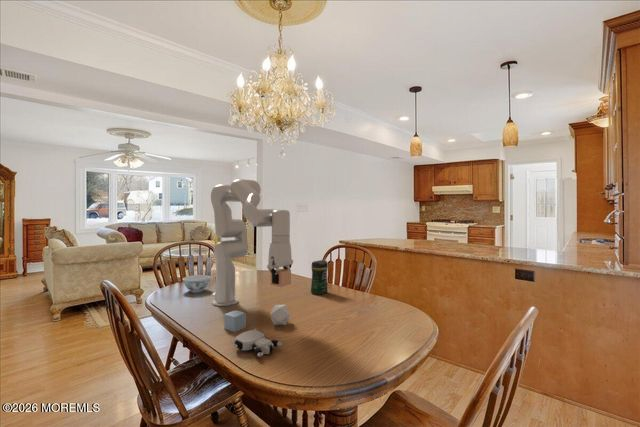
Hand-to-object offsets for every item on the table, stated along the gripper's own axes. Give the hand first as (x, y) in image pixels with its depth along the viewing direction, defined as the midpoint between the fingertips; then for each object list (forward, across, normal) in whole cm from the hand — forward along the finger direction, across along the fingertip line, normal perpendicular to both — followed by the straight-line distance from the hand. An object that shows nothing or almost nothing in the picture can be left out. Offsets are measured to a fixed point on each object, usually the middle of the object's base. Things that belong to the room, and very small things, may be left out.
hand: (280, 281), depth 133 cm
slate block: (+18, +14, -12) cm, 26 cm away
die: (+18, 0, 0) cm, 18 cm away
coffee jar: (+18, -49, -13) cm, 54 cm away
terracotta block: (+1, 0, 0) cm, 1 cm away
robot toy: (+18, +23, +9) cm, 31 cm away
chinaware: (+18, -11, -73) cm, 76 cm away
